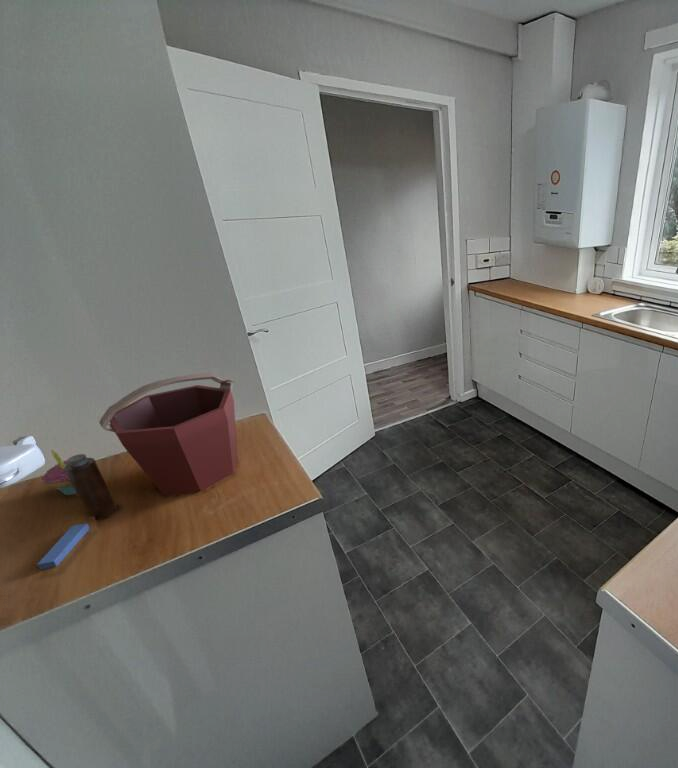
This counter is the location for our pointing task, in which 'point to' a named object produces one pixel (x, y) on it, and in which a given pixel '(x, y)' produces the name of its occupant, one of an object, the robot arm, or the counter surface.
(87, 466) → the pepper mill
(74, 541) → the blue stick
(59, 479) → the cupcake
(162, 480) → the bucket
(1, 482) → the robot arm
